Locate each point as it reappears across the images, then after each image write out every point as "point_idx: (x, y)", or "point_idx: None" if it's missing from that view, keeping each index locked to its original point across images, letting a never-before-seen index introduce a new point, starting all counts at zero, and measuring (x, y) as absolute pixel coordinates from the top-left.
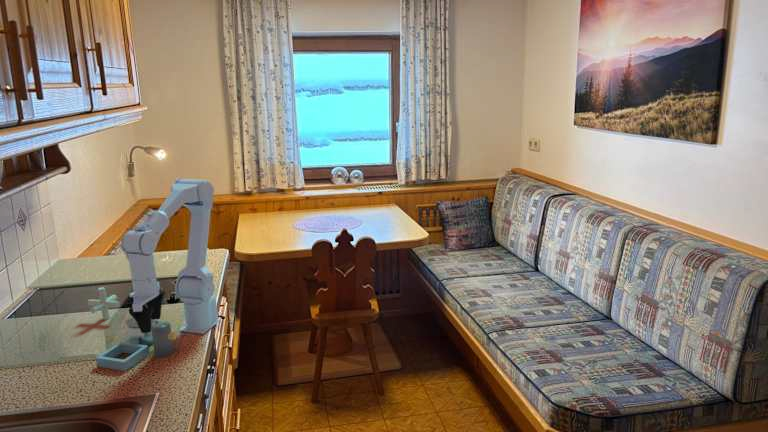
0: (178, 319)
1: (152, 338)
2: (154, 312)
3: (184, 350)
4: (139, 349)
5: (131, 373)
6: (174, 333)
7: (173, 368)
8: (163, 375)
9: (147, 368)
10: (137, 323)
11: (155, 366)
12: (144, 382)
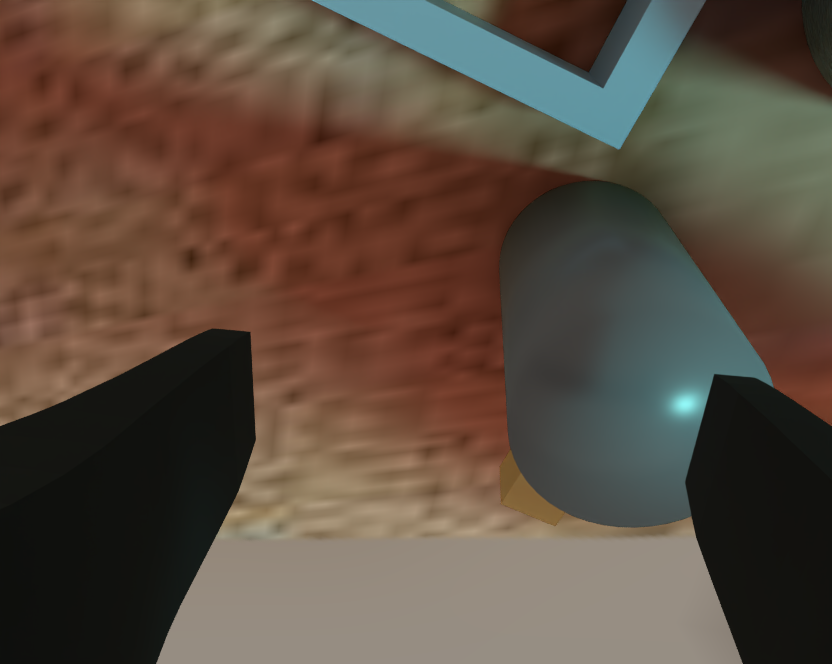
0: None
1: (582, 253)
2: (745, 511)
3: None
4: (543, 64)
5: (227, 44)
6: (540, 513)
7: (288, 386)
8: (183, 334)
9: (309, 177)
10: (71, 401)
11: (338, 240)
12: (75, 210)
